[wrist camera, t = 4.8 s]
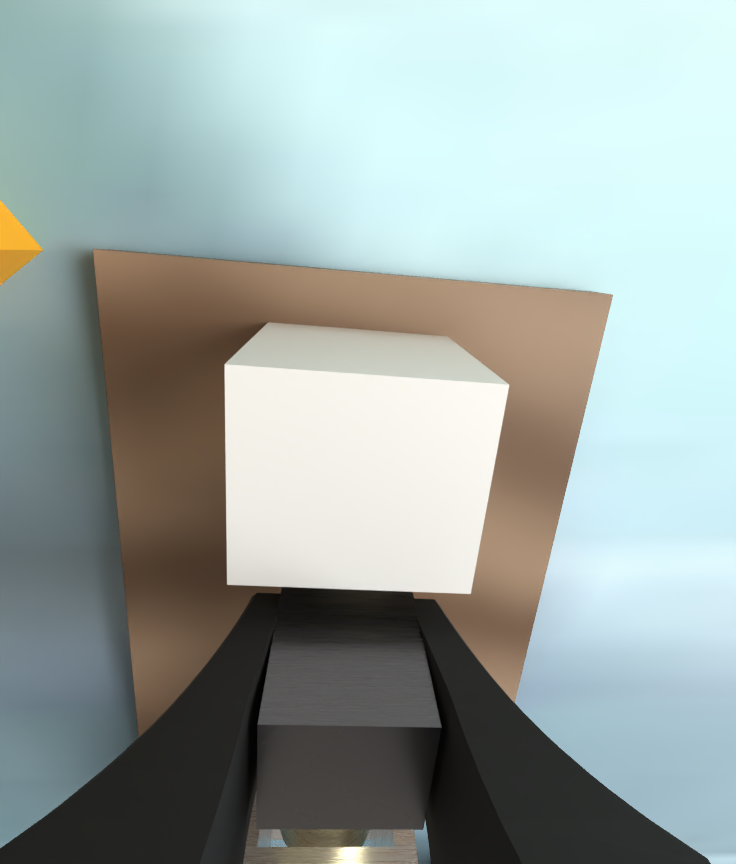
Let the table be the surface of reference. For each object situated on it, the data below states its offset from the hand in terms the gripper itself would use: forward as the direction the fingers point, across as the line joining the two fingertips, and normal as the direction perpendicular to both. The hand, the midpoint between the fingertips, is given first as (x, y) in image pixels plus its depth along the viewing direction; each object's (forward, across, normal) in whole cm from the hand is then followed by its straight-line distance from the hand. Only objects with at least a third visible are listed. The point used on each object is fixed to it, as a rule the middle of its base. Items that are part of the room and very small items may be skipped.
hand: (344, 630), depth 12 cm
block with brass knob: (+3, 0, +2) cm, 3 cm away
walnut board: (+5, 0, +2) cm, 6 cm away
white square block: (+5, 0, -4) cm, 7 cm away
